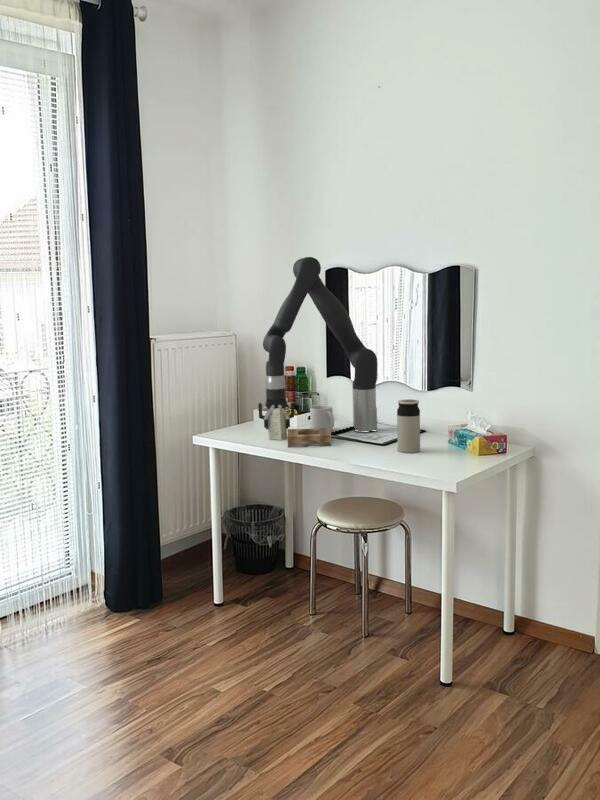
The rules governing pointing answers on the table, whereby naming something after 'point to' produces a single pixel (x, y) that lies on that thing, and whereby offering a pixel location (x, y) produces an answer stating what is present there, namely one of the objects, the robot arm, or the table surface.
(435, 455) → the table surface
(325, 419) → the mug
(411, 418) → the travel mug
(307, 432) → the socket board
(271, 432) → the skincare box
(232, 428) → the table surface
